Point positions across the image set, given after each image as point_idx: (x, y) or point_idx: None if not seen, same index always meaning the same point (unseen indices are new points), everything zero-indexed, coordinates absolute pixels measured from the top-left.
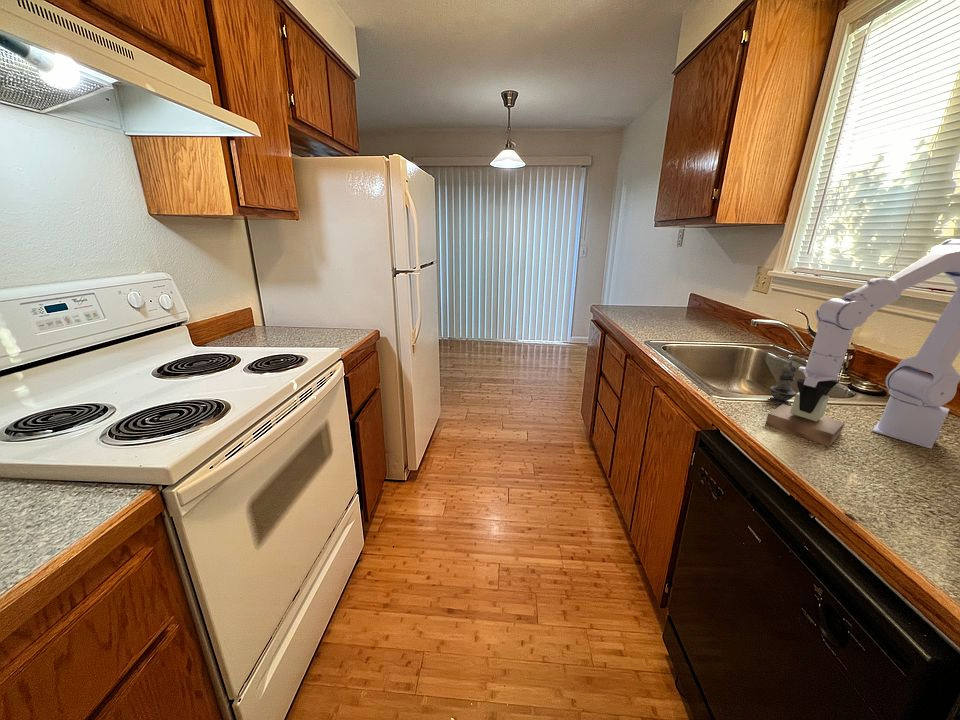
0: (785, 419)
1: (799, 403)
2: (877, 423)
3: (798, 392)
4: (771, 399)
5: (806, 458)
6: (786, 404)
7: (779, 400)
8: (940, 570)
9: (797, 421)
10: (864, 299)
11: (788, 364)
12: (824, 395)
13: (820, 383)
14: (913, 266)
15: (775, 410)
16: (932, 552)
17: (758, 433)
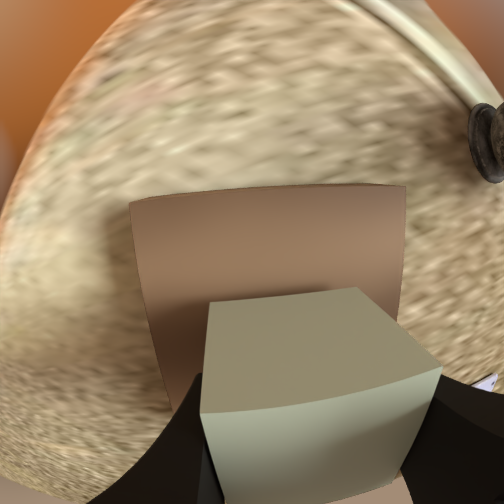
0: (144, 297)
1: (184, 399)
2: (486, 381)
3: (284, 408)
4: (483, 115)
5: (40, 385)
6: (486, 170)
7: (491, 142)
8: (5, 475)
9: (175, 346)
10: None
11: None
12: (388, 474)
13: (456, 502)
14: None
15: (237, 201)
16: (20, 480)
17: (36, 231)
